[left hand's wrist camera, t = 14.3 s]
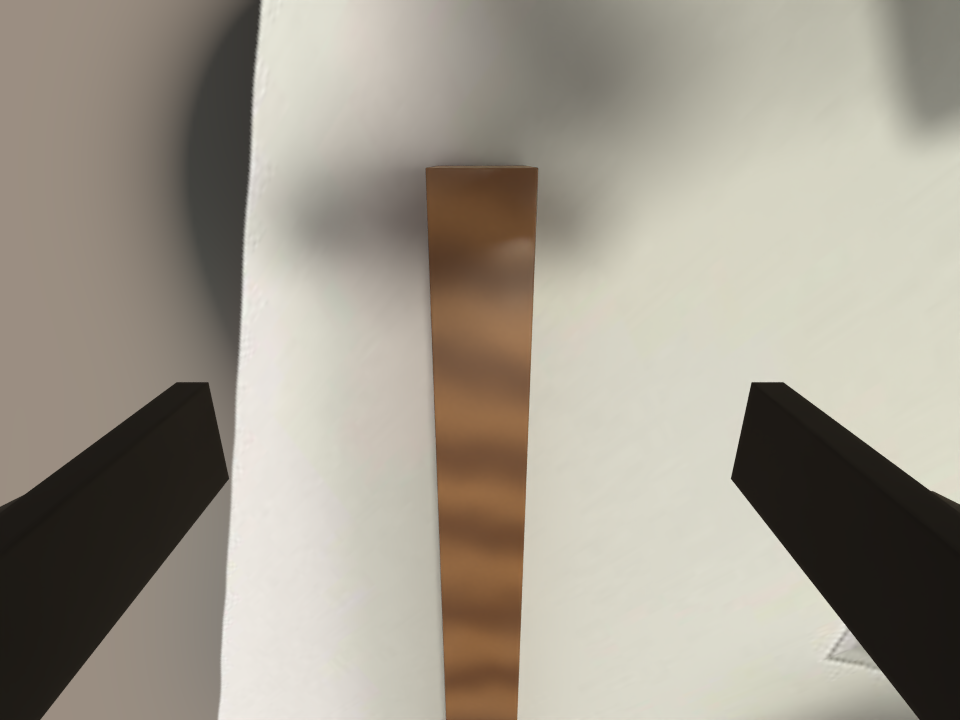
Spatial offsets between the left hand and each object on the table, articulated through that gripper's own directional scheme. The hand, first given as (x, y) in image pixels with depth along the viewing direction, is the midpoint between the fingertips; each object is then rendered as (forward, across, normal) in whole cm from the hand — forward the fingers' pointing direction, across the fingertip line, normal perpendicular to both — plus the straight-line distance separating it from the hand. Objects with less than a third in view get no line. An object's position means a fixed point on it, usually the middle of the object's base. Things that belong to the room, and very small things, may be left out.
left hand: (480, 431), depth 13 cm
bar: (+23, 0, -35) cm, 42 cm away
